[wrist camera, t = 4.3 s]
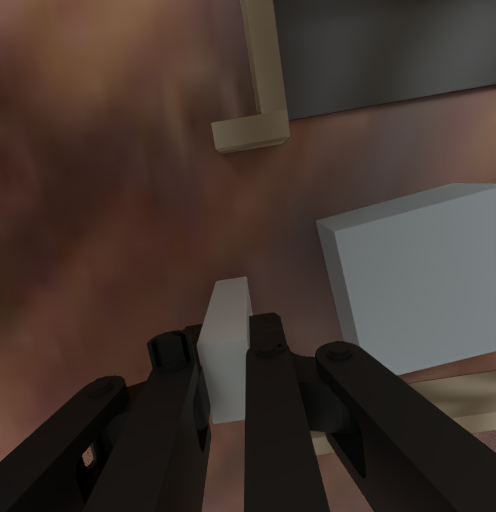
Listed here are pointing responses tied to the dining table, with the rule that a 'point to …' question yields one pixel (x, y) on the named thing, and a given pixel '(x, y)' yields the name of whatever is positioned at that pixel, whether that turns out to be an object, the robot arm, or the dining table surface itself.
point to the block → (416, 275)
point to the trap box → (366, 99)
